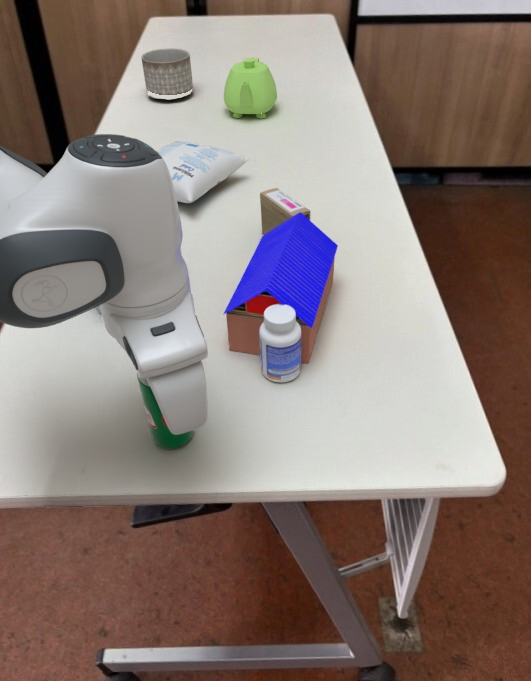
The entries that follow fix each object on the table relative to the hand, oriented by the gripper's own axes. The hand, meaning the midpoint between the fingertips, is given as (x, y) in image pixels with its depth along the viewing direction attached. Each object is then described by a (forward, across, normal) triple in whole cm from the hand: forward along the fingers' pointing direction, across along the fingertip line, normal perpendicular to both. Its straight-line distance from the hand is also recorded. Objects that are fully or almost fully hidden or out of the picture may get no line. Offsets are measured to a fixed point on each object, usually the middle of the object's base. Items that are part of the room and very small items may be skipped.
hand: (167, 398), depth 65 cm
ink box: (+7, -32, +31) cm, 45 cm away
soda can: (+7, 0, 0) cm, 7 cm away
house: (+7, -15, +22) cm, 28 cm away
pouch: (+7, -60, +22) cm, 64 cm away
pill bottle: (+7, -4, +16) cm, 18 cm away
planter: (+7, -114, +36) cm, 119 cm away
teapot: (+7, -92, +51) cm, 105 cm away
